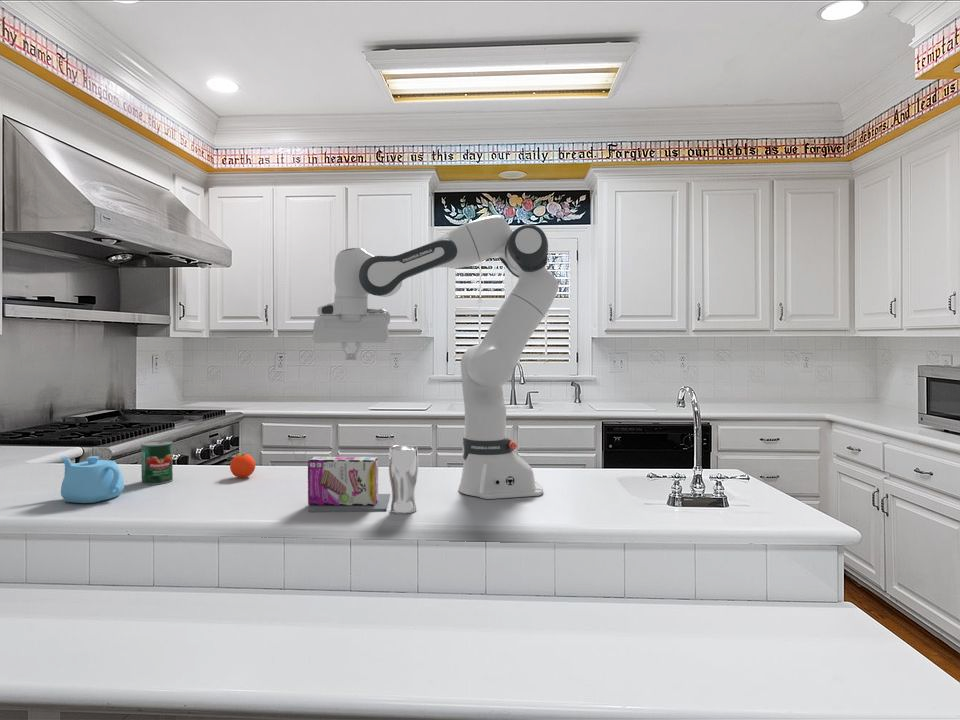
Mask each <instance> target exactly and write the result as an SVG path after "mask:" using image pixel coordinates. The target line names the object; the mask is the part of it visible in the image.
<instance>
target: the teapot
mask: <svg viewBox="0 0 960 720" xmlns="http://www.w3.org/2000/svg"><path fill="white" fill-rule="evenodd" d="M60 459H61V460H62V461H63V463H64V474H63V475H64V476H63V479H62V483H61V486H60V496H61V497H62V499H63V500H64V501H65V502H68V503H73V504H74V503H76V504H95V503H98V502H102V501H106V500H111V499H113V498H116V497H118V496H120V495H121V494H122V493H123V491H124V489H125V481H124V476H123V474H122V472H121V468H120V467H119V465H118V464H117V462H116V461H115V460H107V459H100V457H99V456H97V455H94V456H93V455H92V456H87V457H86V461H82V462H77V463H72V460H71V459H70V458H68V457H66V456H60Z"/></svg>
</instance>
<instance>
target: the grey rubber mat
mask: <svg viewBox="0 0 960 720" xmlns="http://www.w3.org/2000/svg"><path fill="white" fill-rule="evenodd" d="M390 497H391V493H380V494H379V493H378V501H377V503H376V505H310V507H309V509H308V512H309V513H326V512H327V513H331V512H333V513H334V512H335V513H337V512H339V513H340V512H382V511H383V512H386V511H387V510H388V505H389V501H390Z"/></svg>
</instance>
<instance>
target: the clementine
mask: <svg viewBox="0 0 960 720" xmlns="http://www.w3.org/2000/svg"><path fill="white" fill-rule="evenodd" d="M229 469H230V472H231V474H232V475H233V476H235V478H239V479H245V478H248V477H250V476H251V475H252V474H253V473H254V471H255V469H256V460H255V459H254V458H253V456H251V455H250V454H248V453H247V454H246V453H238V454H235V456H234V457H233V458H232V459H231V461H230V464H229Z"/></svg>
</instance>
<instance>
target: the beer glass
mask: <svg viewBox="0 0 960 720" xmlns="http://www.w3.org/2000/svg"><path fill="white" fill-rule="evenodd" d="M388 451H389V453H388V475H389V476H388V477H389V482H390V483H389V484H390V487H391V505H390V512H391V513H393V514H397V515H405V514H406V515H407V514H412V513H415V512H416V511H417V504H416V497H415V495H416V494H415V493H416V488H417V487H416V486H417V482H418V481H417V480H418V474H419V454H418V453H419V452H418V446H416V445H407V444H403V445H402V444H400V445H399V444H398V445H392V446H390V447H389V450H388Z"/></svg>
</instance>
